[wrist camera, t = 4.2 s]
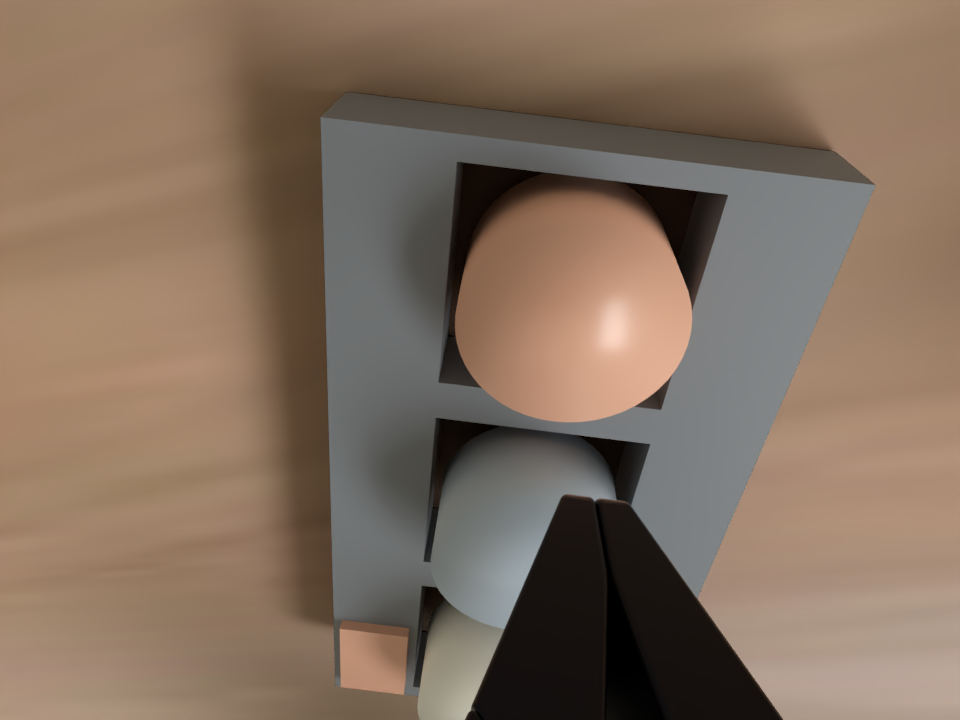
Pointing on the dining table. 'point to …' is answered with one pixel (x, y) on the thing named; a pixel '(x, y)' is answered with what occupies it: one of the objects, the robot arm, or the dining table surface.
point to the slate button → (506, 513)
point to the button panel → (457, 396)
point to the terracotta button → (571, 300)
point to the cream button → (454, 663)
